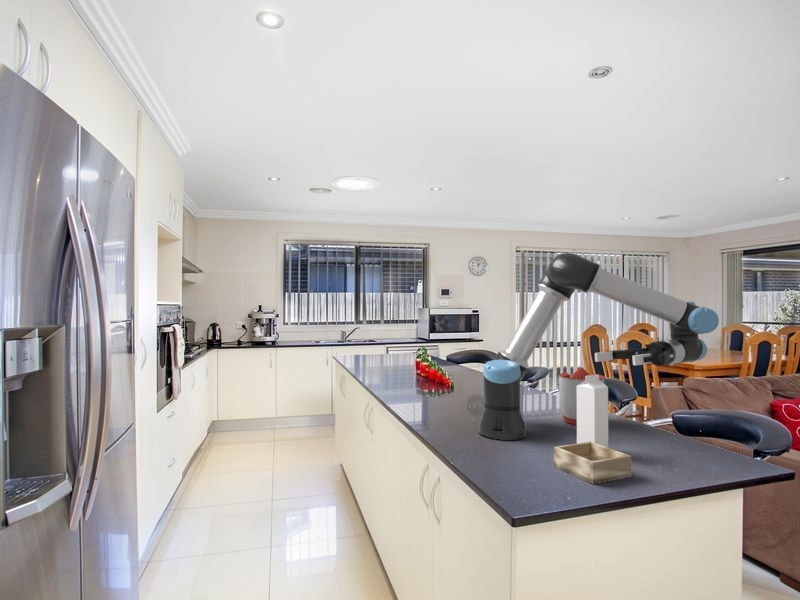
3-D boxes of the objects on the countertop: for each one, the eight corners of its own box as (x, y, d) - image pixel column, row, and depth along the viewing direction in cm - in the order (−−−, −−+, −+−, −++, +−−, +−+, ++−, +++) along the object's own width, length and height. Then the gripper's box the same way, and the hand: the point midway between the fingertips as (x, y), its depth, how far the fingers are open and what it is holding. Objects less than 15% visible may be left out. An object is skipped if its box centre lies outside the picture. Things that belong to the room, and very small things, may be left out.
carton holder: (554, 466, 113) (554, 447, 113) (590, 460, 117) (590, 441, 118) (592, 484, 101) (592, 462, 101) (631, 476, 106) (631, 456, 106)
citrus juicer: (594, 416, 166) (594, 364, 166) (612, 429, 148) (612, 370, 149) (552, 415, 167) (552, 363, 168) (565, 427, 150) (565, 369, 150)
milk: (608, 454, 123) (608, 375, 123) (594, 457, 120) (595, 377, 120) (589, 447, 128) (590, 372, 129) (576, 450, 125) (576, 374, 126)
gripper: (705, 368, 125) (653, 375, 117) (631, 361, 148) (583, 367, 140) (703, 342, 125) (650, 348, 117) (629, 339, 148) (581, 344, 141)
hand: (613, 358), depth 129 cm, fingers open, 13 cm apart
